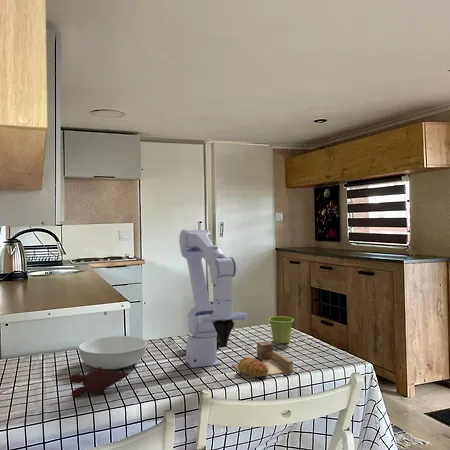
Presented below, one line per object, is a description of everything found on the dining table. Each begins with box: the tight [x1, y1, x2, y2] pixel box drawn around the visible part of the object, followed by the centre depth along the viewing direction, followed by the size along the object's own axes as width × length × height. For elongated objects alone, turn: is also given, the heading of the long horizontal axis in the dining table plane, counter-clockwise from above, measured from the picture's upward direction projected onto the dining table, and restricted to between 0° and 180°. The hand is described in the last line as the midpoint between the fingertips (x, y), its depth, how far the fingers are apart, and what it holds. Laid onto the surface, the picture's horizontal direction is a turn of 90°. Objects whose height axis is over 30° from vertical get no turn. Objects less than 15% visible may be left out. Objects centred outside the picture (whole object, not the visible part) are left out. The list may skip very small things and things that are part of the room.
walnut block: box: [256, 340, 274, 361], centre depth 144 cm, size 4×4×5 cm
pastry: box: [237, 356, 268, 378], centre depth 128 cm, size 9×7×4 cm
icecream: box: [68, 367, 130, 398], centre depth 115 cm, size 7×7×15 cm
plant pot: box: [268, 315, 295, 345], centre depth 164 cm, size 9×9×9 cm
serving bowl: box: [78, 335, 148, 371], centre depth 138 cm, size 21×21×7 cm
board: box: [231, 350, 294, 379], centre depth 133 cm, size 15×12×3 cm
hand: (223, 346), depth 126 cm, fingers closed
